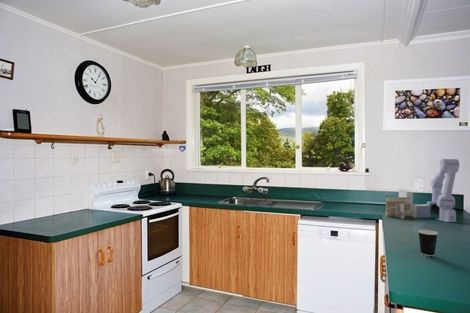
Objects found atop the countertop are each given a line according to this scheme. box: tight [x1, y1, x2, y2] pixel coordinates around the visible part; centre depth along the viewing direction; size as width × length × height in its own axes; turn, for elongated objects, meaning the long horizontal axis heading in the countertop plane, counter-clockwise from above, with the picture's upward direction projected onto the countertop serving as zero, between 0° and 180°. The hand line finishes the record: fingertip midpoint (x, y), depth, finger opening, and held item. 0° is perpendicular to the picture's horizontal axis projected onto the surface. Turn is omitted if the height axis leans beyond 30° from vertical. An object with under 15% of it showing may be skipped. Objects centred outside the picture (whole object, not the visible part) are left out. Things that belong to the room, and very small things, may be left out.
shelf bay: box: [385, 197, 412, 220], centre depth 229 cm, size 9×20×14 cm, turn 101°
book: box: [411, 203, 431, 219], centre depth 230 cm, size 4×12×9 cm, turn 101°
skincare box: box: [398, 188, 414, 212], centre depth 264 cm, size 21×6×16 cm, turn 168°
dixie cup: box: [417, 229, 439, 256], centre depth 143 cm, size 8×8×11 cm
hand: (436, 213), depth 233 cm, fingers closed
